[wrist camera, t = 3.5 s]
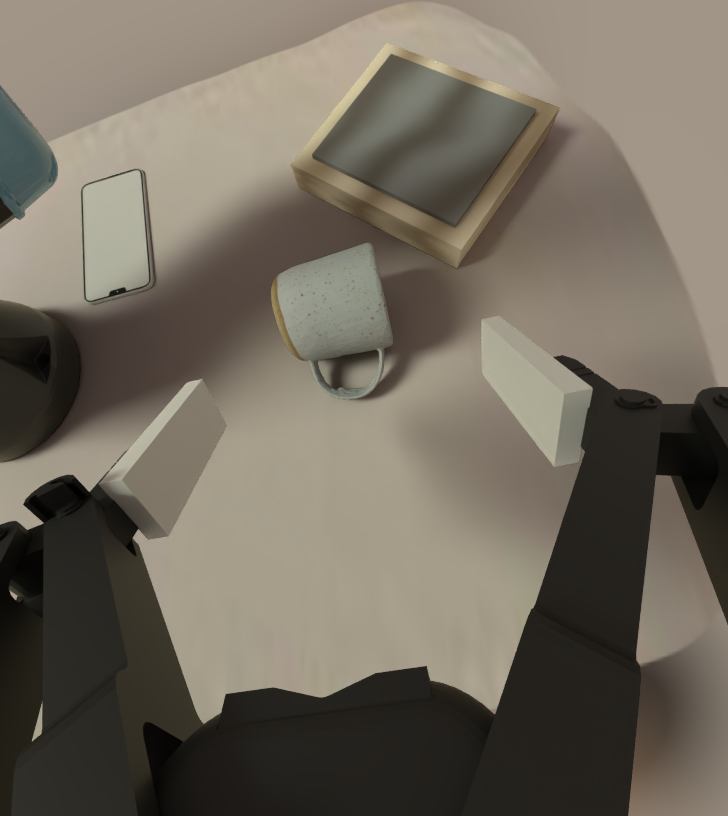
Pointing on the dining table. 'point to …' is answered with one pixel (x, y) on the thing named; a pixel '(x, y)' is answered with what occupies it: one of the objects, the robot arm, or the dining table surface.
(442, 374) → the dining table surface
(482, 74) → the dining table surface
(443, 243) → the wooden picture frame
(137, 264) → the smartphone
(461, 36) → the dining table surface
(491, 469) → the dining table surface
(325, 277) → the ceramic mug
